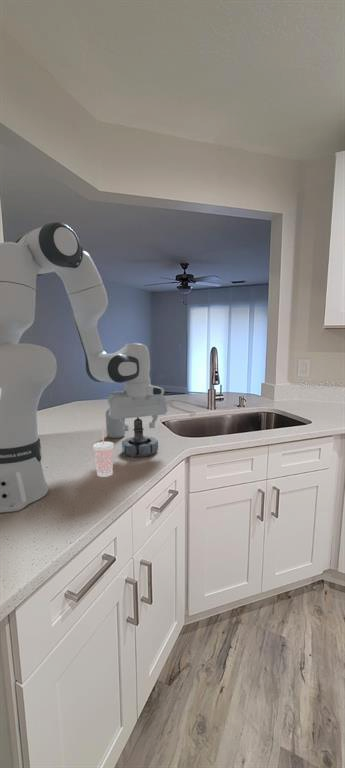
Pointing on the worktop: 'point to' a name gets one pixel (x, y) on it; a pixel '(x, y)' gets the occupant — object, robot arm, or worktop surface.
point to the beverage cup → (104, 457)
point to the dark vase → (138, 433)
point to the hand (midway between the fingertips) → (139, 429)
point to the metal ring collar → (140, 447)
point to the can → (114, 427)
